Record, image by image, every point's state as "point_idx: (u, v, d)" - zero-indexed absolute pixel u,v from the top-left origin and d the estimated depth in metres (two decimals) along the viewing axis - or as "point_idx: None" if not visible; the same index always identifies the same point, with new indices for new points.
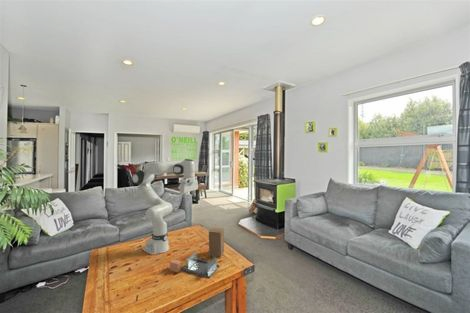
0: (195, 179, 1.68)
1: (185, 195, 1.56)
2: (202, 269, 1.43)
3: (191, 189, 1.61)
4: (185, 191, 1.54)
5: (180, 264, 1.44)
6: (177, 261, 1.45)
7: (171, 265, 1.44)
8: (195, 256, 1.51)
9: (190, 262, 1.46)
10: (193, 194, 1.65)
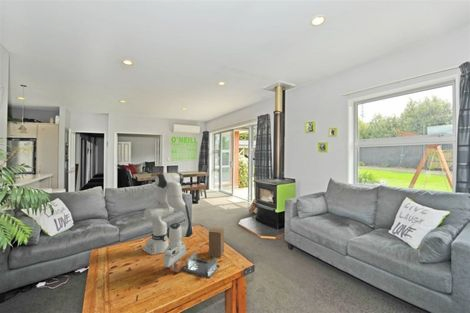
0: (183, 244, 1.51)
1: (172, 266, 1.41)
2: (202, 269, 1.43)
3: (177, 258, 1.44)
4: (170, 264, 1.37)
5: (180, 264, 1.44)
6: (177, 261, 1.45)
7: None
8: (195, 256, 1.51)
9: (190, 262, 1.46)
10: None
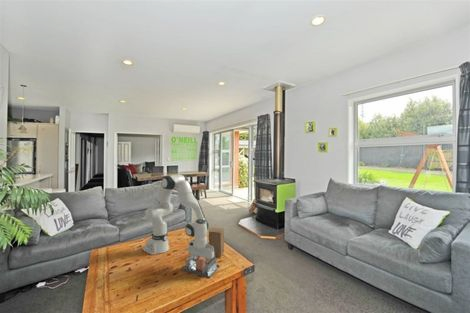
0: (210, 246, 1.42)
1: (193, 257, 1.47)
2: (202, 269, 1.43)
3: (199, 254, 1.44)
4: (190, 253, 1.47)
5: (199, 263, 1.42)
6: (201, 259, 1.44)
7: None
8: None
9: (190, 262, 1.46)
10: (205, 262, 1.43)
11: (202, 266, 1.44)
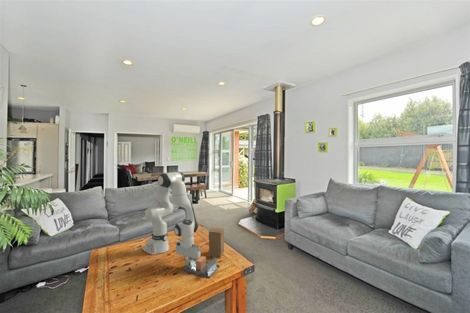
0: (196, 246, 1.46)
1: (185, 258, 1.50)
2: (202, 269, 1.43)
3: (186, 254, 1.48)
4: (178, 253, 1.51)
5: (199, 263, 1.42)
6: (201, 259, 1.44)
7: None
8: None
9: (190, 262, 1.46)
10: None
11: (202, 266, 1.44)
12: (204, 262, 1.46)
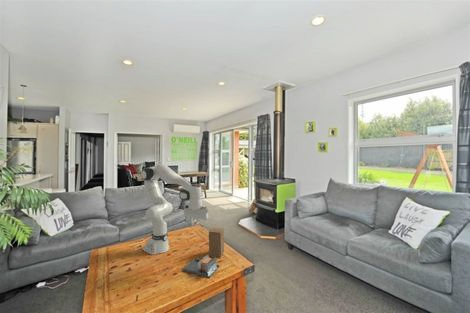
0: (204, 208, 1.50)
1: (193, 220, 1.54)
2: None
3: (194, 216, 1.52)
4: (186, 215, 1.55)
5: None
6: (207, 261, 1.42)
7: None
8: None
9: None
10: (195, 222, 1.53)
11: None
12: None
